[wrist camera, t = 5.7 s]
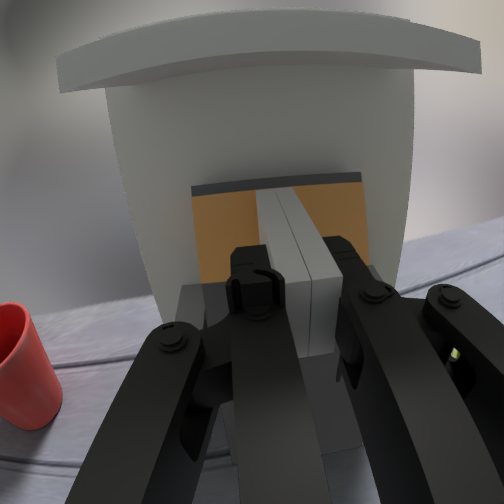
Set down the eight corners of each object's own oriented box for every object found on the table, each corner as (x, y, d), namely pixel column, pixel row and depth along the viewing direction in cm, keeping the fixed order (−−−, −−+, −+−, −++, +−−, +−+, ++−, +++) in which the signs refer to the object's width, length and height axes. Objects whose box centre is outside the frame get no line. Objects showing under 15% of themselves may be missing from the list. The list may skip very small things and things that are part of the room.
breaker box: (352, 336, 31) (367, 31, 17) (393, 446, 19) (501, 5, 5) (198, 353, 31) (133, 47, 17) (189, 473, 19) (14, 21, 5)
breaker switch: (357, 427, 18) (353, 176, 16) (366, 445, 16) (366, 171, 14) (229, 444, 18) (192, 190, 16) (227, 465, 16) (184, 187, 14)
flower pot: (-12, 428, 20) (-66, 368, 15) (24, 361, 29) (-15, 299, 25) (53, 456, 19) (-11, 394, 14) (87, 371, 29) (47, 302, 24)
